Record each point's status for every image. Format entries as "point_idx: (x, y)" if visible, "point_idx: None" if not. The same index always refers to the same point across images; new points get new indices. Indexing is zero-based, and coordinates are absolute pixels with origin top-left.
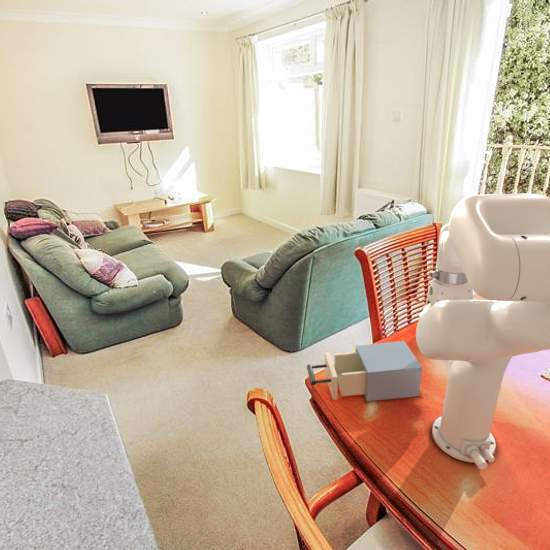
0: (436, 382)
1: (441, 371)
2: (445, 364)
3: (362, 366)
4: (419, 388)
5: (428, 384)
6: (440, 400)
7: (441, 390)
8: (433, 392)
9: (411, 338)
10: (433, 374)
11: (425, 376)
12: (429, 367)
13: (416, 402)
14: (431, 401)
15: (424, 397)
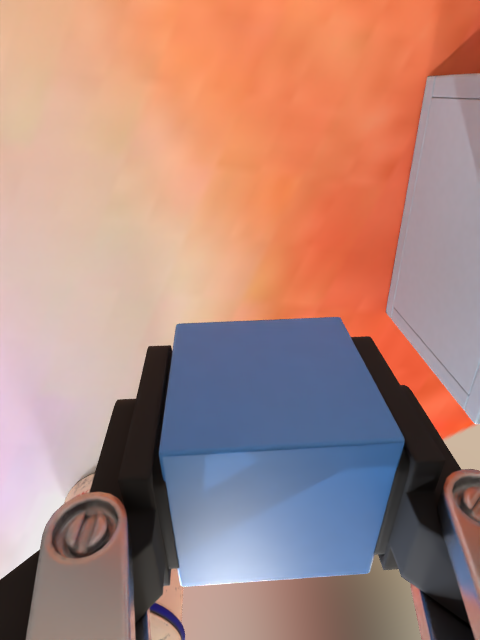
0: (271, 185)
1: (205, 269)
2: (162, 317)
3: None
4: (459, 75)
5: (321, 174)
6: (325, 16)
7: (276, 112)
8: (329, 100)
9: None
10: (256, 250)
11: (304, 239)
12: (251, 303)
13: (471, 18)
14: (382, 14)
15: (402, 60)
